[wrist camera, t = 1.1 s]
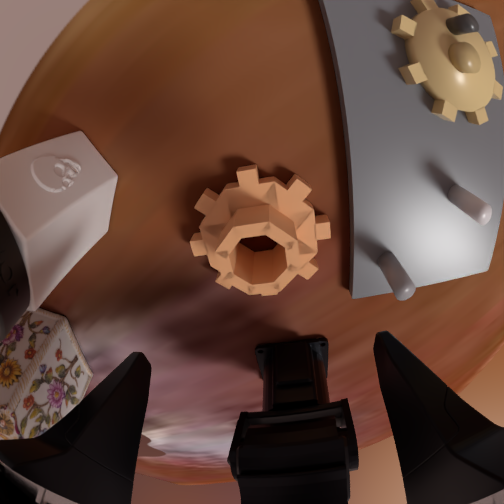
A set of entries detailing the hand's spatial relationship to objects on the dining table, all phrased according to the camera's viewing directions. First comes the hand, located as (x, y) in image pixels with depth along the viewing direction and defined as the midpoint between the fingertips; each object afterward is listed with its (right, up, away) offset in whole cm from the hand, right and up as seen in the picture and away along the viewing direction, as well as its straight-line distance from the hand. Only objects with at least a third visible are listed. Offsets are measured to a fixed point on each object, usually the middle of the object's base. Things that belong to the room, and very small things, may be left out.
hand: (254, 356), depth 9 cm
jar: (-13, +9, +7) cm, 18 cm away
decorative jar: (-26, -7, +17) cm, 32 cm away
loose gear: (0, +5, +9) cm, 10 cm away
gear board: (+12, +11, +4) cm, 17 cm away
